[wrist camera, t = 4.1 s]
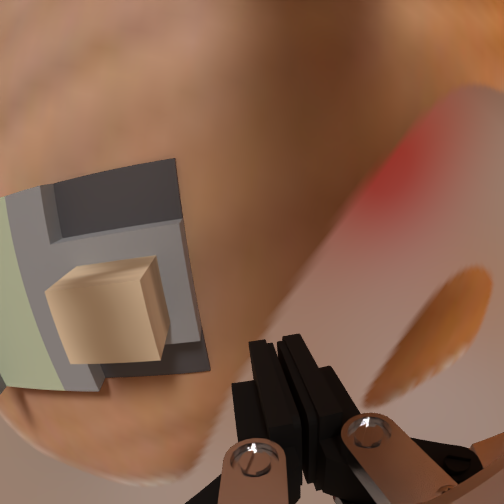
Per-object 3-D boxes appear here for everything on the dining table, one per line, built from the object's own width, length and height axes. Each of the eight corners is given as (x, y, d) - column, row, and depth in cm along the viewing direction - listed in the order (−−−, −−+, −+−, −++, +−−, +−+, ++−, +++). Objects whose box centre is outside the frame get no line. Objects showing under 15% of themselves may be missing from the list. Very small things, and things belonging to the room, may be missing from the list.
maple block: (156, 254, 16) (139, 280, 12) (170, 321, 17) (160, 360, 13) (76, 266, 16) (44, 291, 12) (94, 328, 17) (70, 364, 13)
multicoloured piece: (175, 158, 17) (155, 152, 11) (210, 368, 21) (211, 428, 15) (-38, 213, 15) (-89, 229, 10) (12, 372, 19) (-19, 413, 13)
